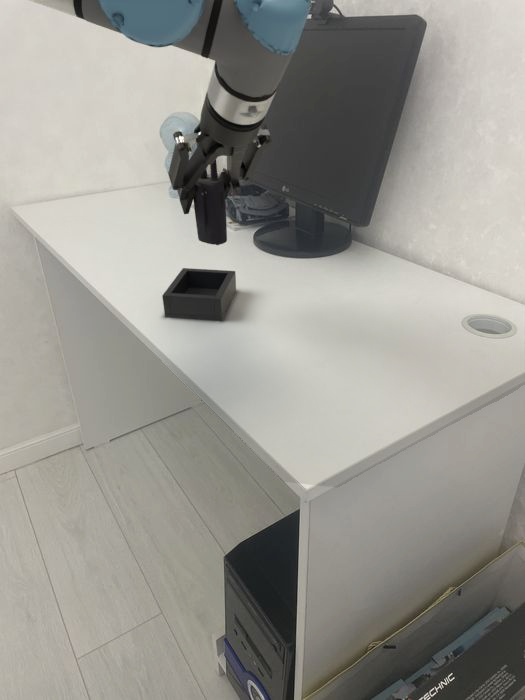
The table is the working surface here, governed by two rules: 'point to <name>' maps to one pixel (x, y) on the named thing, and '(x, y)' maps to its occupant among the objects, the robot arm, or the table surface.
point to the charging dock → (200, 294)
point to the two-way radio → (210, 208)
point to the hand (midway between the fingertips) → (200, 204)
